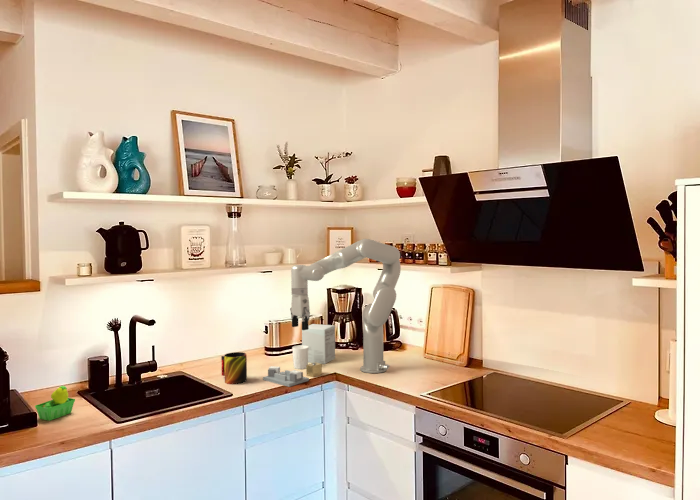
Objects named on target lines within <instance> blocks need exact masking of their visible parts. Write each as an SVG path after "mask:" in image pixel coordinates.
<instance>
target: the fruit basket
mask: <svg viewBox="0 0 700 500" xmlns="http://www.w3.org/2000/svg"><path fill="white" fill-rule="evenodd" d="M50 399H51V400H47V401H44V402H42V403H39V404H36V405H34V407H35V409H36V411H37V414H38V417H39V420H45V421H49V422H50V421H53V420H56V419H58V418H61V417H64V416H66V415H70V414H72V411H73V407H74V404H75V401H76V398H71V397H69V392H68V389H67V386H66V385H61V386H59V387H58V388H56V389H55V390H54V391H53V392H52V393H51V395H50Z"/></svg>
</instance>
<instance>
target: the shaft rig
mask: <svg viewBox="0 0 700 500" xmlns="http://www.w3.org/2000/svg"><path fill="white" fill-rule="evenodd" d="M262 380H263V381H267V382H270V383H274V384H277V385H281V386H285V387H289V388H290V387H294V386H296V385H300V384H303V383H306V382H309V381H310V378H309V377H308V376H307V377H306V376H304V372H303V371H300V370H296V369H293V370H287V369H286V370H284V371H281V366H274V365H273V366H272V365H271V366H269V367H268V369H267V375H265V376H262Z"/></svg>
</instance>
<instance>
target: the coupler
mask: <svg viewBox="0 0 700 500" xmlns="http://www.w3.org/2000/svg"><path fill="white" fill-rule="evenodd" d="M322 367H323V364H320V363H316V362H315V363H309V364H308V365H306V368H305V370H306V372H305V373H306V376H307V377H311V378H315V377H318V376H321V375H323V374H322V373H323V369H322Z"/></svg>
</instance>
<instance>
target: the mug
mask: <svg viewBox="0 0 700 500" xmlns="http://www.w3.org/2000/svg"><path fill="white" fill-rule="evenodd" d="M247 355H248V354H247V353H245V352H241V351H239V352H238V351H235V352H228V353H225V354H224V355H222V356H221V359H220V360H221V376H223V377H224V383H225V384H227V385H234V386H235V385H242V384H245V383H247V382H248V371H247V370H248V367H247V366H248V364H247V361H248V359H247V357H248V356H247Z"/></svg>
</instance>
